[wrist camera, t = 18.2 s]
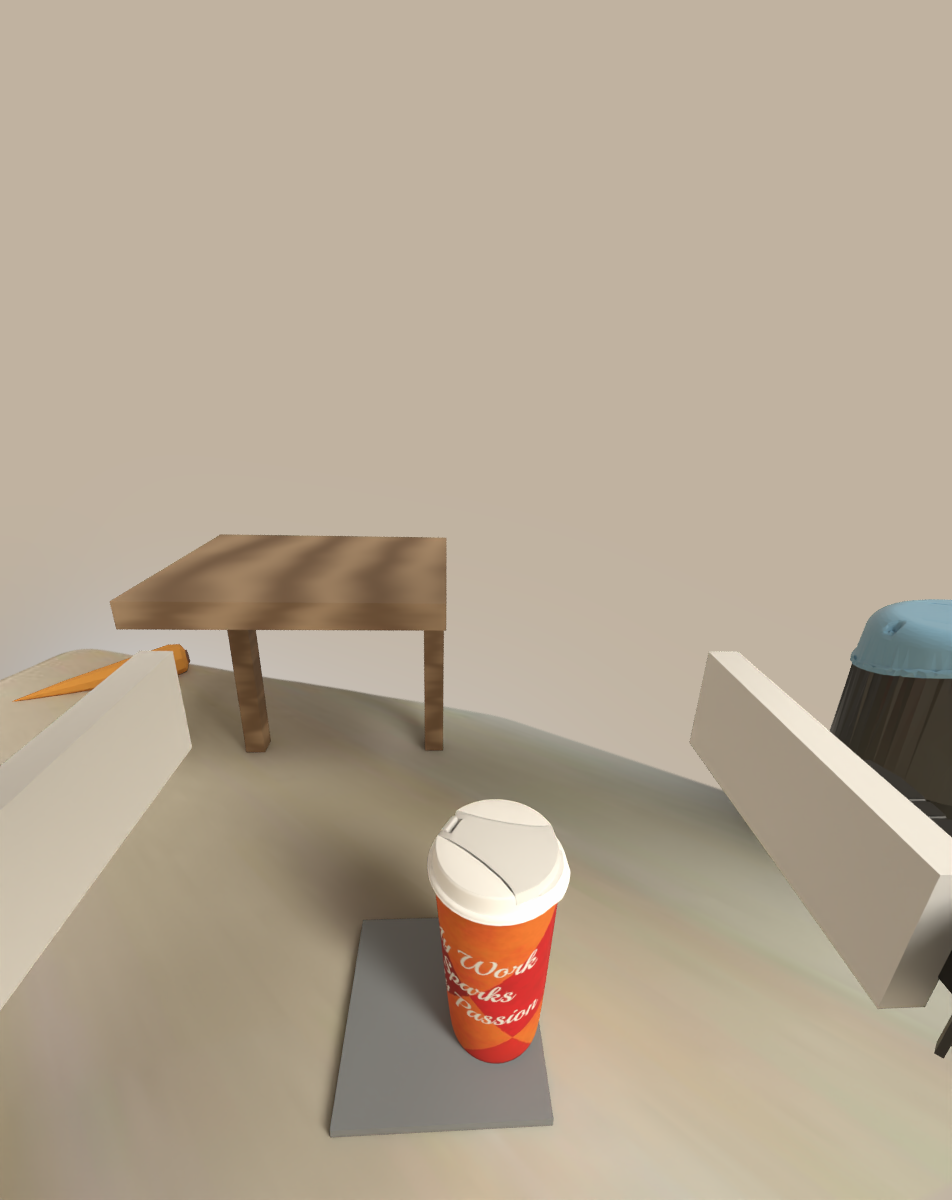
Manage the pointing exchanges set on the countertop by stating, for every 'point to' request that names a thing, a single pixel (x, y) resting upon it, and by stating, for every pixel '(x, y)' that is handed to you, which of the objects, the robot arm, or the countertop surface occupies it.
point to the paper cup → (496, 921)
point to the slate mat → (422, 1048)
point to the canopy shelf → (299, 603)
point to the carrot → (104, 675)
